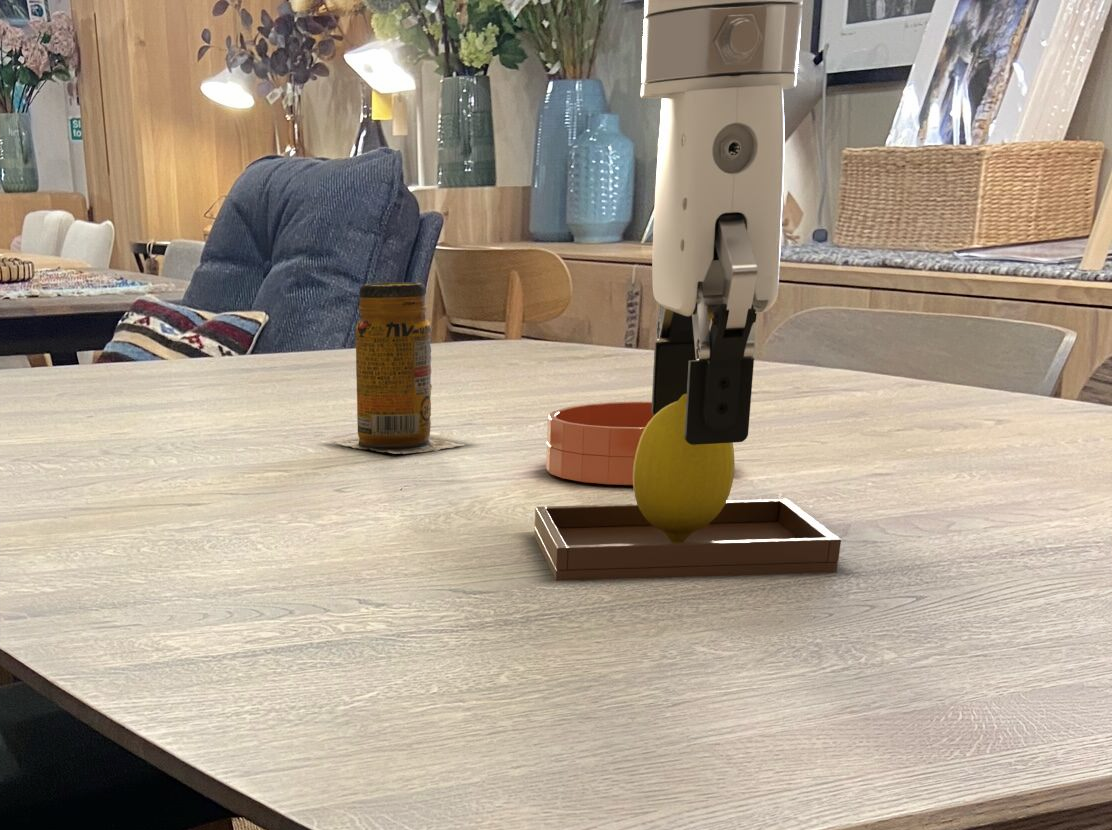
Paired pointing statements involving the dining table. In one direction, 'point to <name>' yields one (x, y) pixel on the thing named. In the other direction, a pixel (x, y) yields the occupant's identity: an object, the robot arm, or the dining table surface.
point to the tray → (715, 550)
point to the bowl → (596, 441)
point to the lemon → (680, 475)
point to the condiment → (394, 370)
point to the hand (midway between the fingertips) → (696, 428)
